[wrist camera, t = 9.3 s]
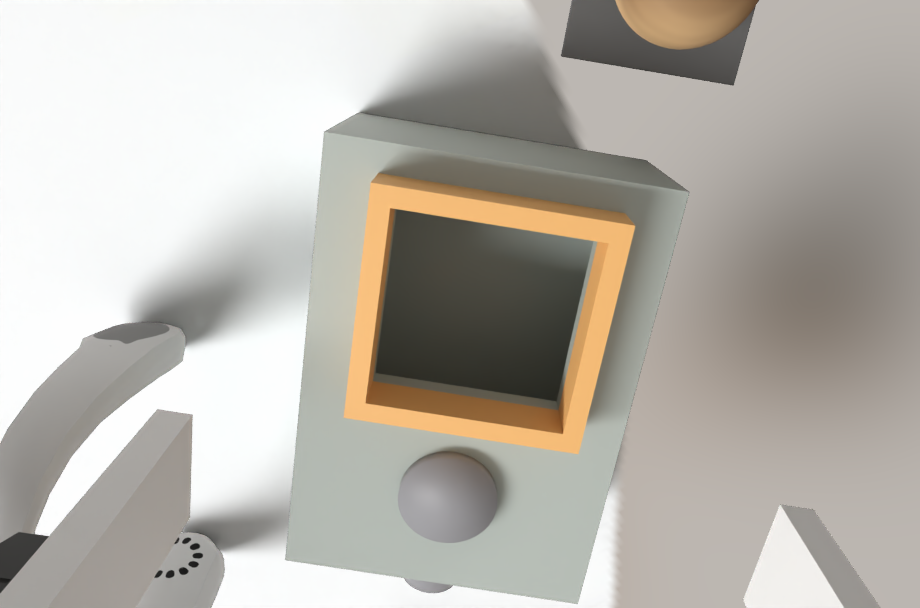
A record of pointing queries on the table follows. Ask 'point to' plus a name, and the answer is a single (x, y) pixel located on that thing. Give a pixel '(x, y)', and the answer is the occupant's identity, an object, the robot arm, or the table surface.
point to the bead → (684, 20)
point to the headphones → (71, 422)
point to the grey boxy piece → (471, 353)
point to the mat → (647, 45)
